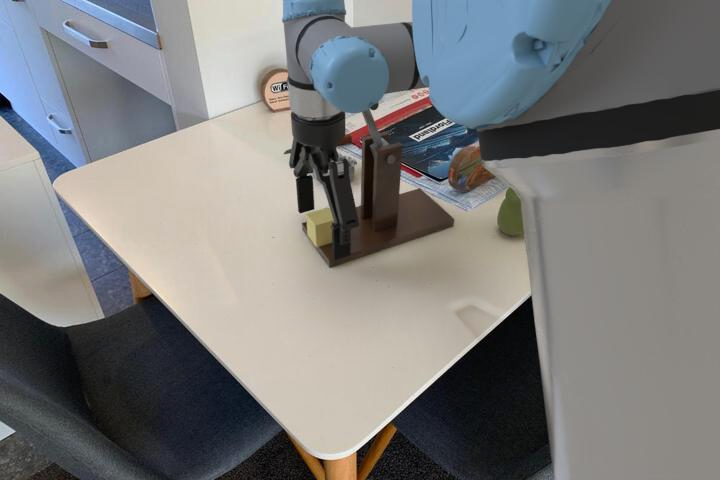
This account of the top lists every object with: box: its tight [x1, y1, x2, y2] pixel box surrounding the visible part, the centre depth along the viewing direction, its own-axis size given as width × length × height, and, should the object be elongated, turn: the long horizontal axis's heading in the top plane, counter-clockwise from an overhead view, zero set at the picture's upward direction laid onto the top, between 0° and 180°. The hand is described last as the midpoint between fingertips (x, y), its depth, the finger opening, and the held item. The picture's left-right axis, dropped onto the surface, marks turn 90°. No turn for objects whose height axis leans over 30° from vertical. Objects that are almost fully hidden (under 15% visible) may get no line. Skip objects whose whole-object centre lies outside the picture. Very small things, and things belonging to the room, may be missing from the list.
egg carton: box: [313, 151, 358, 182], centre depth 103 cm, size 11×8×4 cm
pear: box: [496, 186, 524, 236], centre depth 87 cm, size 6×5×10 cm
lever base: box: [301, 131, 455, 268], centre depth 85 cm, size 24×11×17 cm, turn 118°
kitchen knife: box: [283, 133, 353, 155], centre depth 111 cm, size 16×1×2 cm, turn 117°
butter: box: [305, 206, 334, 249], centre depth 84 cm, size 4×4×4 cm
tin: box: [447, 140, 495, 193], centre depth 100 cm, size 15×3×8 cm, turn 131°
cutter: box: [361, 102, 390, 156], centre depth 77 cm, size 13×9×2 cm
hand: (323, 232), depth 85 cm, fingers open, 13 cm apart
